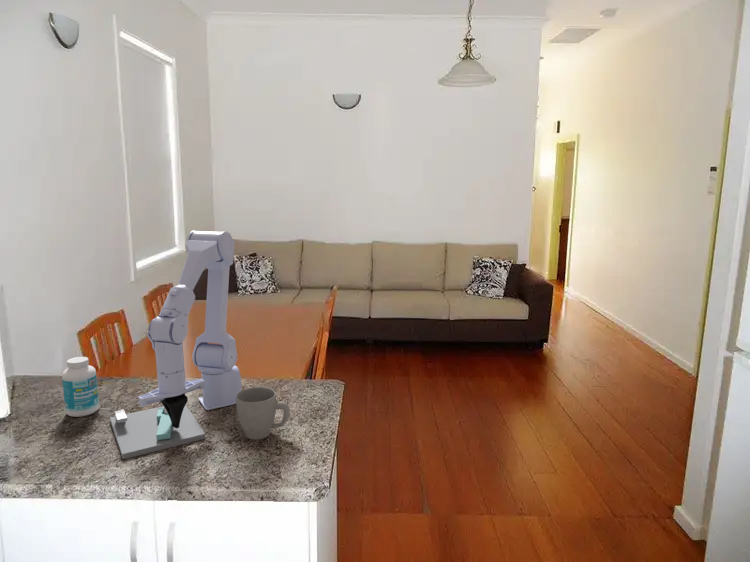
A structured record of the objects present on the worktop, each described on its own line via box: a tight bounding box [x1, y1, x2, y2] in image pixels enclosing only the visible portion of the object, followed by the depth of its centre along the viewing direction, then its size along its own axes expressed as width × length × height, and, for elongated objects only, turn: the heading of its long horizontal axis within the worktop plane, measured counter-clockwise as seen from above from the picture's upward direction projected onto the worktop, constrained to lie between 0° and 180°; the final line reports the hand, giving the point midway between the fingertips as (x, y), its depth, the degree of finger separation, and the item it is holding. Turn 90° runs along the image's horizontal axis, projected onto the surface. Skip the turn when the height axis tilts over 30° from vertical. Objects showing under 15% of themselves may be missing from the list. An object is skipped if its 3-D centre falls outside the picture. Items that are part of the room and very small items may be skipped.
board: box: [109, 405, 206, 460], centre depth 128 cm, size 17×20×1 cm
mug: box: [235, 386, 291, 440], centre depth 125 cm, size 12×9×10 cm
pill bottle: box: [61, 356, 100, 418], centre depth 136 cm, size 8×7×14 cm
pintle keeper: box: [114, 407, 168, 424], centre depth 130 cm, size 12×5×4 cm, turn 122°
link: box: [156, 407, 173, 440], centre depth 127 cm, size 14×5×1 cm, turn 15°
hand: (175, 426), depth 125 cm, fingers closed, pressing on link
